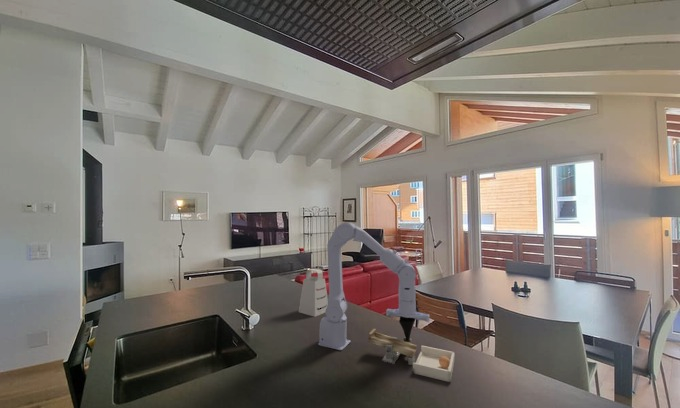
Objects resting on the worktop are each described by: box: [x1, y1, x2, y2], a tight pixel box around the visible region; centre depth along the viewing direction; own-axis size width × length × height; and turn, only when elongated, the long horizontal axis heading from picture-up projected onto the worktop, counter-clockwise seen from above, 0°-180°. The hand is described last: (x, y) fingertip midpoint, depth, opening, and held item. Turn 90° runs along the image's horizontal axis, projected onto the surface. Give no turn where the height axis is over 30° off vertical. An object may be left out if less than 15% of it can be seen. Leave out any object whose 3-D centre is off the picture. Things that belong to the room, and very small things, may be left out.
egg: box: [439, 356, 450, 368], centre depth 87 cm, size 3×3×3 cm
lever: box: [367, 328, 418, 357], centre depth 97 cm, size 15×11×3 cm
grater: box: [298, 268, 328, 318], centre depth 140 cm, size 10×10×20 cm
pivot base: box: [381, 336, 416, 366], centre depth 94 cm, size 9×8×5 cm
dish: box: [412, 345, 456, 383], centre depth 89 cm, size 10×13×3 cm
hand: (407, 339), depth 99 cm, fingers closed, pressing on lever
